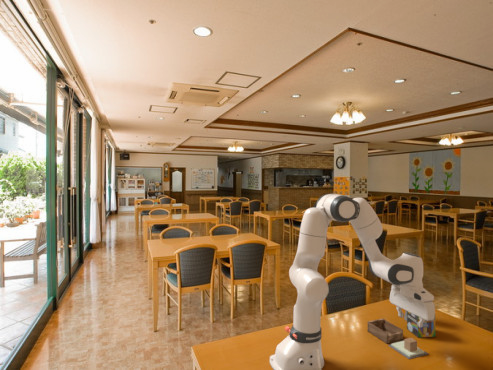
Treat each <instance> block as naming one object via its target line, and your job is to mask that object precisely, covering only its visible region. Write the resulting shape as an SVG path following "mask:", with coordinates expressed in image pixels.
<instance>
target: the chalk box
mask: <svg viewBox="0 0 493 370" xmlns="http://www.w3.org/2000/svg"><path fill="white" fill-rule="evenodd" d="M419 321H420V319H419V316H417V315H414V314H412V313H410V312H408V311H407V321H406V329H407V330H408V331H409V332H410V333H412V335H414V336H415V337H417V339H419V338H435V337H436V333H437V331H436V317H435V318H434V319H433V320H429V321H427V320H425V321H424V322H423V327H418V326H417V322H419Z"/></svg>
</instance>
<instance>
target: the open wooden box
mask: <svg viewBox="0 0 493 370" xmlns="http://www.w3.org/2000/svg"><path fill="white" fill-rule="evenodd" d="M367 332H368V333H370V334H371V335H372V336H374V337H375V338H377V339H379V340H380V341H382V342H383V343H384V344H387V345H389V344H392V343H396V342H400V341H404V329H403V328H401V327H399V326H397V325H395V324H394V323H392V322H390V321H388V320H386V319H385V318H378V319H372V320H368V321H367Z"/></svg>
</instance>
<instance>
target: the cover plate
mask: <svg viewBox="0 0 493 370" xmlns="http://www.w3.org/2000/svg"><path fill="white" fill-rule="evenodd" d="M390 344H391V345H392V346H393V347H395V348H396V349H398V350H400V351H401V352H403V353H404V354H406V355H407V356H409V357H412V356H416V355H419V354H423V353H424V351H425V350H423V349H421V348H420V347H418V341H417V340H416V339H415V338H412V337H409V338H405V339H404V338H403V340H400V341H396V342H392V343H390Z"/></svg>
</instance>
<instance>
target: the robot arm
mask: <svg viewBox="0 0 493 370" xmlns="http://www.w3.org/2000/svg"><path fill="white" fill-rule="evenodd" d="M332 221H334V222H339V223H347V222H349V223H350V224H351V227H352V229H353V230H354V232H355V234H356V236H357V238H358V240H359V243H360V245H361V247H362V249H363V251H364V254H365V255H366V257H367V261H368V266H369V271H370V272H371V274H372V275H373V276H375V277H377V278H380V279H382V280H384V281H386V282H388V283H390V284H391V288H390V289H391V290H390V292H389V293H390V294H389V302H390V304H392V305H394V306H396V307H395V308H396V311H397V312H398V314H397V316H398V317H400V318H404V317H405V312H406V311H408V312H410V313H412V314H414V315H417V316H419V319H420V321H419V322H417V326H418V327H423V322H424V321H425V320H427V321H429V320H433V319H434V318H435V319H436V307H435V303H434V302H433V301H434V300H435V296H434V295H433V294H432V293H431V292H430V291H428V290H427V289H426V288H424V283H423V277H424V262H423V261H424V260H423V258H422V257H421V256H420V255H417V254H414V253H412V252H403V253H402V254H401V255H400V256H399V257H398V258H395V259H392V258H391V259H390V258H388V257H387V256H385V255H384V254H383V253H382V252H381V250H380V248H379V246H378V243H377V242H376V240H377V239H379V238H380V237H381V235H382V234H383V230H384V228H383V225H382V222H381V220H380V218H379V217H378V215H377V213H376V211H375V210H374V208H373V207H372V206H371V205H370V203H369V202H368V201H367V200H366V199H365V198H363V197H361V196H360V197H354V198H353V197H350V196H347V195H342V194H339V193H325V194H322V195H321V196H320V197H319V198H318V199H317V201H316V203H315V204H314V205H313V207H309V208H307V209H306V210H305V211H304V213H303V216H302V219H301V223H300V227H299V236H298V244H297V248H296V249H297V250H296V254H295V257H294V258H293V259H294V260H293V263H292V265H291V266H290V267H289V271H288V275H289V280H290V282H291V284H292V285H293V286H294V287H295V288H296V292H297V298H296V302H295V304H294V306H293V314H292V315H293V317H292V318H293V322H292V325H291V327H289V326H288V325H286V326H285V327H284V330H285V332H287V333H289V334H288V335H287V336H286V337H285V338H284V339H283V340H281V341H280V343H278V344H277V345H276V348H275V350H274V351H275V353H274V354H271V355H269V365H270V366H271V368H272V370H322V369H323V367H324V366H325V360H324V357H323V350H322V341H321V340H322V336H323V335H322V332H323V331H322V326H321V324H322V323H321V319H322V317H321V315H322V313H321V311H322V306H323V302H324V300H325V299H326V298H327V297H328V294H329V284H328V282H327V280H326V279H325V277H324V276H323V275H322V274H321V273H320V272H318V268H319V267H318V266H319V265H320V264H319V263H320V261H321V259H322V258H324V256H325V253H326V252H325V251H326V244H327V236H328V227H329V225H330V223H331V222H332ZM403 310H404V311H405V312H403Z"/></svg>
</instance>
